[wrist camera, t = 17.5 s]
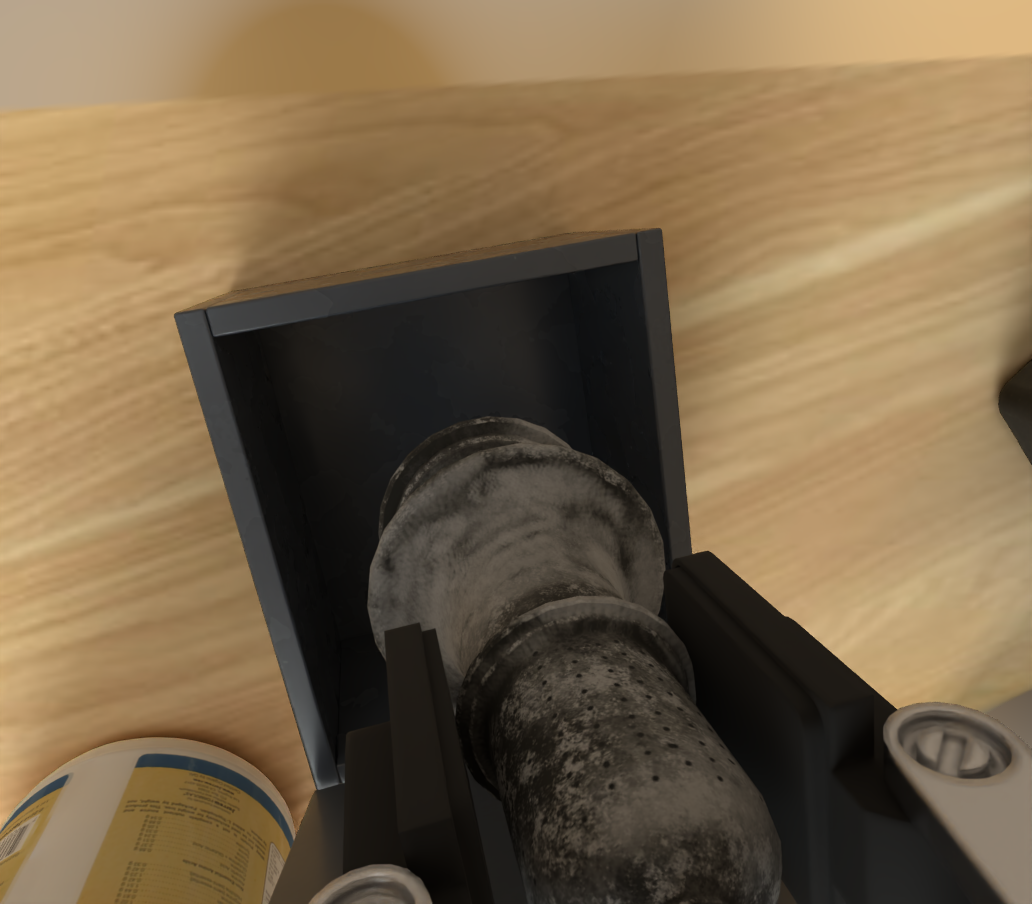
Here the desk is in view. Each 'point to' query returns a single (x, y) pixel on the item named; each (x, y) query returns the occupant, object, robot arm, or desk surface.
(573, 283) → the chest
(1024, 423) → the flower pot
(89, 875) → the supplement tub
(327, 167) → the desk surface
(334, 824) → the lid
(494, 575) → the chess piece
